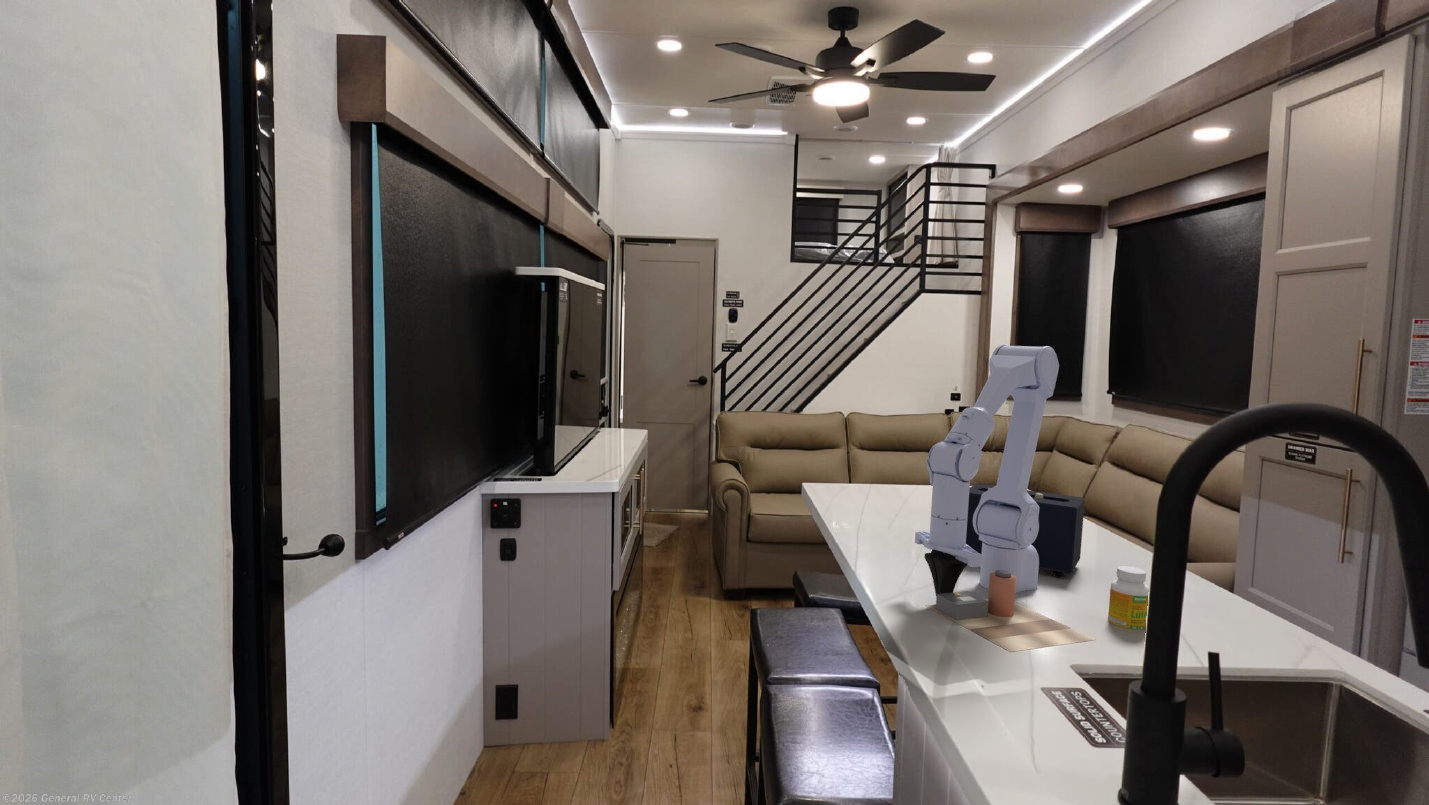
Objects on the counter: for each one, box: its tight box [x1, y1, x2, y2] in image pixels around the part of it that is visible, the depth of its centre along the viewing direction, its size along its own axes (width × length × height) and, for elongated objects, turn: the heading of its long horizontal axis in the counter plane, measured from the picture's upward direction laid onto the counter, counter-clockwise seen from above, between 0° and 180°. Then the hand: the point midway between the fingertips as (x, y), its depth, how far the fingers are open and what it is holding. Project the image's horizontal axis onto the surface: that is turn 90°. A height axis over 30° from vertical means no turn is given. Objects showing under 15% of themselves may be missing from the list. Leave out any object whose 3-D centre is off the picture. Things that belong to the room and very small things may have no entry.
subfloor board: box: [925, 598, 1097, 653], centre depth 116 cm, size 16×19×1 cm
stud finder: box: [935, 590, 988, 621], centre depth 119 cm, size 6×5×3 cm
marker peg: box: [987, 570, 1017, 617], centre depth 120 cm, size 4×4×7 cm
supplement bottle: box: [1107, 565, 1150, 630], centre depth 118 cm, size 5×5×10 cm
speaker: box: [966, 483, 1086, 578], centre depth 153 cm, size 22×13×15 cm, turn 58°
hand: (943, 597), depth 123 cm, fingers closed
